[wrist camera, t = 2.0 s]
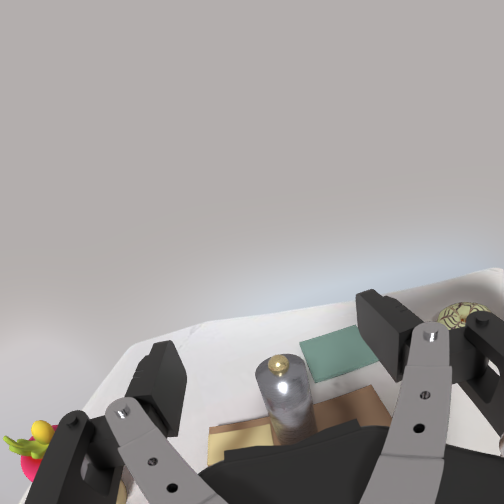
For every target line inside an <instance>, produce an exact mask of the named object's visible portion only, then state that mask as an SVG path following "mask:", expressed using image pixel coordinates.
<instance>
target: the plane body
mask: <svg viewBox="0 0 504 504" xmlns="http://www.w3.org/2000/svg"><path fill="white" fill-rule="evenodd" d="M313 408H314V414H315V419H316V425H317V431H318V432H320V431H322V430H324V429H326V428H329V427H332V426H335V425H338V424H341V423H344V422H347V421H350V420H353V419H356V418H357V421H358V423H359V425H360V426H369V425H381V426H389V427H390V425H391V422H392V417H391V416H390V414H389V413H388V411H387V409H386V408H385V406H384V404H383V403H382V401H381V400H380V398H379V396H378V395H377V393H376V392H375V390H374V388H373V387H372V385H369V386H366V387H364V388H361V389H359V390H356V391H353V392H350V393H348V394H345V395H342V396H339V397H336V398H333V399H330V400H327V401H324V402H321V403H317V404H314V405H313ZM318 432H317V433H318ZM272 445H281V444H280V442H279V441H278V438H277V436H276V433H275V430H274V427H273V425H272V422H271V419H270V416H269V417H264V418H260V419H255V420H250V421H245V422H240V423H234V424H228V425H222V426H216V427H209V436H208V461H207V465H208V467H209V466H211V465H213V464H215V463H217V462H219V461H222V460H224V451H225V450H232V449H239V448H245V447H251V446H272Z"/></svg>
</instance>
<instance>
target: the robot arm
mask: <svg viewBox="0 0 504 504" xmlns="http://www.w3.org/2000/svg"><path fill="white" fill-rule="evenodd" d="M356 310H357V322H358V329H359V333H360V335H361V337H362V339H363V340H364V341H365V343H366V344H367V345H368V346H369V348H370V349H371V350H372V352H373V353H374V354H375V356H376V357H377V358H378V359H379V361H380V362H381V363H382V365H383V366H384V367H385V369H386V370H387V371H388V373H389V374H390V375H391V377H392V378H393V379H394V381H395V382H396V383H397V382H399V381H401V380H402V384H401V388H400V392H399V396H398V400H397V404H396V408H395V411H394V415H393V418H392V422H391V425H390V427H389V426H381V425H369V426H360V425H359V423H358V421H357V418H356V419H353V420H350V421H347V422H344V423H341V424H338V425H335V426H332V427H329V428H326V429H324V430H322V431H320V432H318V433H316V434H314V435H312V436H310V437H308V438H306V439H304V440H302V441H300V442H297V443H295V444H292V445H272V446H251V447H245V448H239V449H232V450H225V451H224V460H222V461H219V462H217V463H215V464H213V465H211V466H209V467H207V468H206V469H204V470H203V471H201V472H200V473H199V474H197V473H196V472H195V471H194V470H193V469H192V468H191V467H190V466H189V465H188V463H187V462H186V461H185V460H184V459H183V458H182V457H181V456H180V454H179V453H178V452H177V451H176V450H175V449H174V447H173V446H172V445H171V444H170V443H169V441H168V440H167V437H178V431H179V425H180V419H181V413H182V407H183V401H184V395H185V390H186V384H187V375H186V371H185V368H184V366H183V363H182V361H181V359H180V357H179V355H178V352H177V350H176V348H175V345H174V344H173V342H172V341H171V340H169V341H163V342H158V343H154V344H153V347H152V349H151V352H150V354H149V355H147V356H145V357H144V358H143V359H142V360H141V361H140V362H139V364H138V366H137V368H136V372H135V373H134V375H133V379H132V380H131V382H130V385H129V387H128V390H127V392H126V394H125V397H124V398H120V399H118V400H116V401H114V402H112V403H111V404H110V405H109V406H108V408H107V409H106V412H105V415H104V416H100V417H97V418H93V419H89V417H88V416H87V415H86V413H85V412H83V411H80V410H77V411H72V412H70V413H68V414H66V415H65V416H64V417H63V418H62V419H61V421H60V422H59V424H58V426H57V428H56V430H55V433H54V435H53V437H52V439H51V441H50V443H49V445H48V448H47V450H46V452H45V454H44V456H43V459H42V461H41V463H40V466H39V468H38V470H37V473H36V475H35V478H34V480H33V483H32V485H31V488H30V490H29V493H28V496H27V498H26V501H25V504H116V501H117V496H118V491H119V485H120V480H121V475H122V470H123V466H124V465H126V466H127V468H128V470H129V471H130V473H131V475H132V477H133V478H134V480H135V482H136V483H137V485H138V486H139V488H140V490H141V491H142V493H143V494H144V496H145V497H146V499H147V500H148V502H149V503H150V504H504V321H502V320H501V319H500V318H498V317H497V316H495V315H494V314H493V313H491V312H488V311H475V312H472V313H470V314H469V315H468V316H467V318H466V323H465V326H464V327H459V328H455V329H451V330H448V328H447V327H446V326H445V325H443V324H441V323H438V322H423V321H422V320H421V319H420V318H419V317H417V316H416V315H415V314H414V313H412V312H411V311H410V310H408V308H406V307H405V306H404V305H402V304H401V303H400V302H399V301H398V300H396V299H394V298H391V297H388V296H384V297H382V296H381V295H380V294H378V293H377V292H376V291H375V290H374V289H370V290H367V291H364V292H361V293H358V294H356ZM489 360H490V361H491V362H492V363H494V364H495V365H496V366H497V368H498V369H499V372H500V376H499V375H498V374H497V373H496V372H495V371H494V370H493V369H492V368H491V367H490V366H489V365H488V362H489ZM455 383H458V384H459V386H460V387H461V388H462V389H463V390H464V392H465V393H466V394H467V395H468V396H469V398H470V399H471V400H472V401H473V403H474V404H475V405H476V406H477V408H478V409H479V410H480V411H481V413H482V414H483V415H484V417H485V418H486V419H487V420H488V422H489V423H490V424H491V426H492V427H493V428H494V430H495V431H496V432H497V434H498V435H499V436H500V441H499V449H500V452H501V455H500V456H497V455H491V454H486V453H482V452H477V451H473V450H468V449H464V448H460V447H456V446H452V445H449V444H446V438H447V431H448V423H449V414H450V402H451V386H452V384H455ZM84 458H85V459H86V460H87V461H88V462H89V465H88V468H87V471H86V474H85V478H84V480H83V478H82V476H81V467H82V463H83V460H84Z"/></svg>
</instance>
